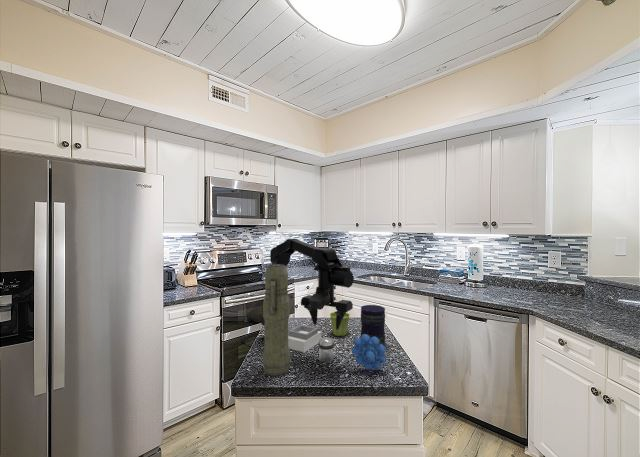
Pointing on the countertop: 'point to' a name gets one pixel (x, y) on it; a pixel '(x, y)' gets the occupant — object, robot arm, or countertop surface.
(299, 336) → the grey open box
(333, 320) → the plant pot
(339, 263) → the robot arm
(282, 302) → the thermos
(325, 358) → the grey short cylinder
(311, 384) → the countertop surface
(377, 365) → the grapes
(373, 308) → the storage jar
